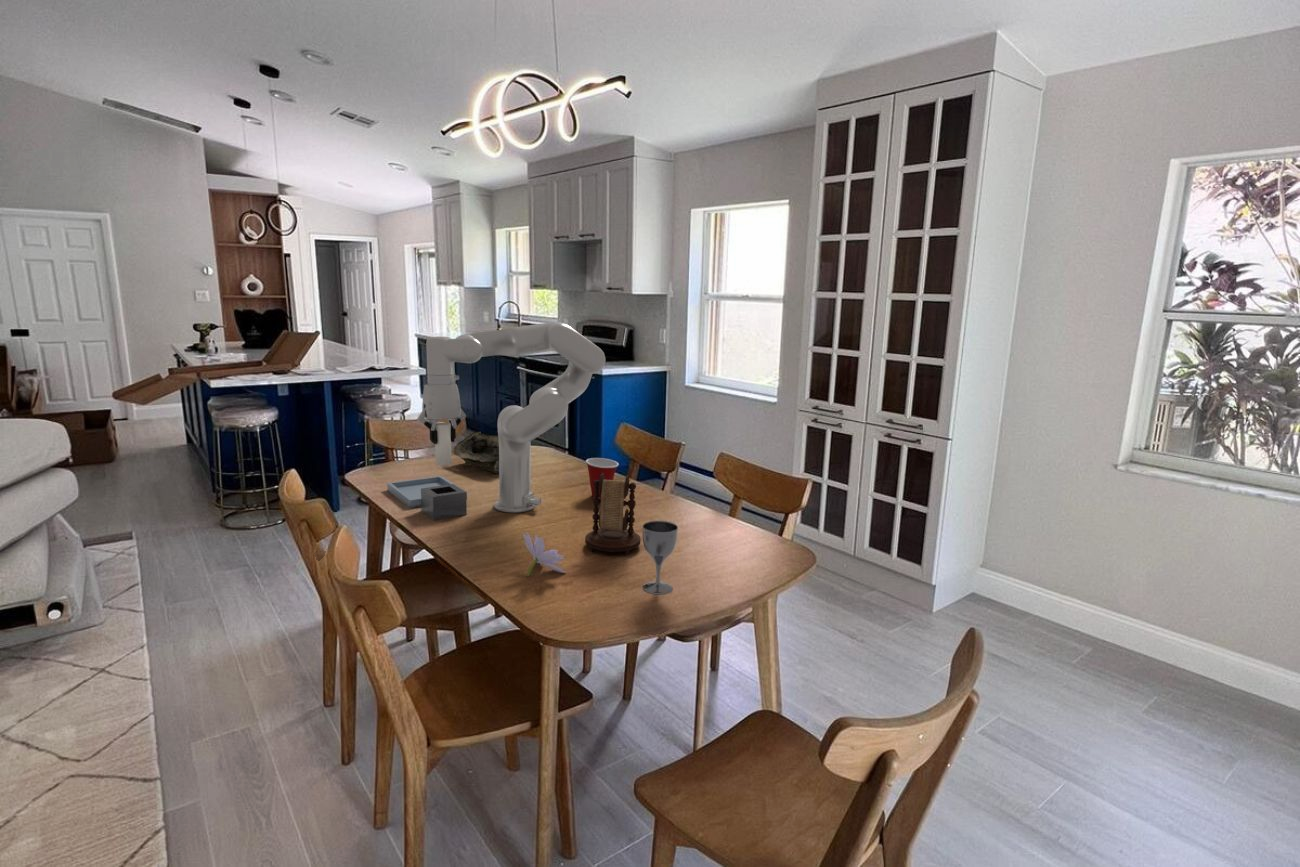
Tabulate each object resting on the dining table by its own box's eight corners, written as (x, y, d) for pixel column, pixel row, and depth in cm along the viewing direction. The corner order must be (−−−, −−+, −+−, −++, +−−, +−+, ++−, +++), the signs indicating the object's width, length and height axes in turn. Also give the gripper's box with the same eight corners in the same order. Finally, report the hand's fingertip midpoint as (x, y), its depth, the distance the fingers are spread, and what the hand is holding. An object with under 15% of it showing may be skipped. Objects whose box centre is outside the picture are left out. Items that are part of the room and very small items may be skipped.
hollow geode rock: (507, 489, 248) (532, 456, 252) (484, 469, 240) (511, 436, 244) (468, 470, 268) (492, 440, 272) (446, 451, 259) (471, 420, 264)
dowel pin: (453, 464, 202) (452, 424, 200) (438, 466, 200) (437, 425, 197) (448, 461, 206) (447, 421, 203) (433, 463, 203) (432, 423, 201)
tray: (466, 499, 219) (466, 491, 219) (410, 508, 209) (410, 500, 208) (441, 482, 236) (440, 475, 236) (387, 490, 226) (387, 482, 225)
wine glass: (673, 580, 164) (676, 521, 161) (675, 595, 156) (679, 532, 153) (640, 580, 164) (642, 520, 161) (640, 594, 156) (643, 531, 153)
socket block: (466, 514, 205) (466, 492, 204) (433, 520, 199) (433, 497, 198) (453, 505, 213) (453, 483, 211) (421, 510, 207) (420, 488, 205)
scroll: (579, 554, 178) (580, 479, 174) (591, 535, 192) (593, 465, 188) (635, 559, 176) (638, 484, 172) (644, 539, 191) (646, 469, 186)
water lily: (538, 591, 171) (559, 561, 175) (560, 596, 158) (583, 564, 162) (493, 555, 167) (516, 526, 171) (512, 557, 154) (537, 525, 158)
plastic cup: (616, 501, 223) (617, 465, 221) (583, 500, 223) (584, 464, 221) (618, 492, 234) (619, 457, 231) (587, 490, 234) (587, 456, 231)
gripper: (464, 377, 206) (465, 436, 209) (407, 380, 196) (409, 442, 199) (474, 380, 200) (475, 441, 204) (416, 383, 190) (418, 448, 193)
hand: (442, 441), depth 201 cm, fingers closed on dowel pin, 4 cm apart
